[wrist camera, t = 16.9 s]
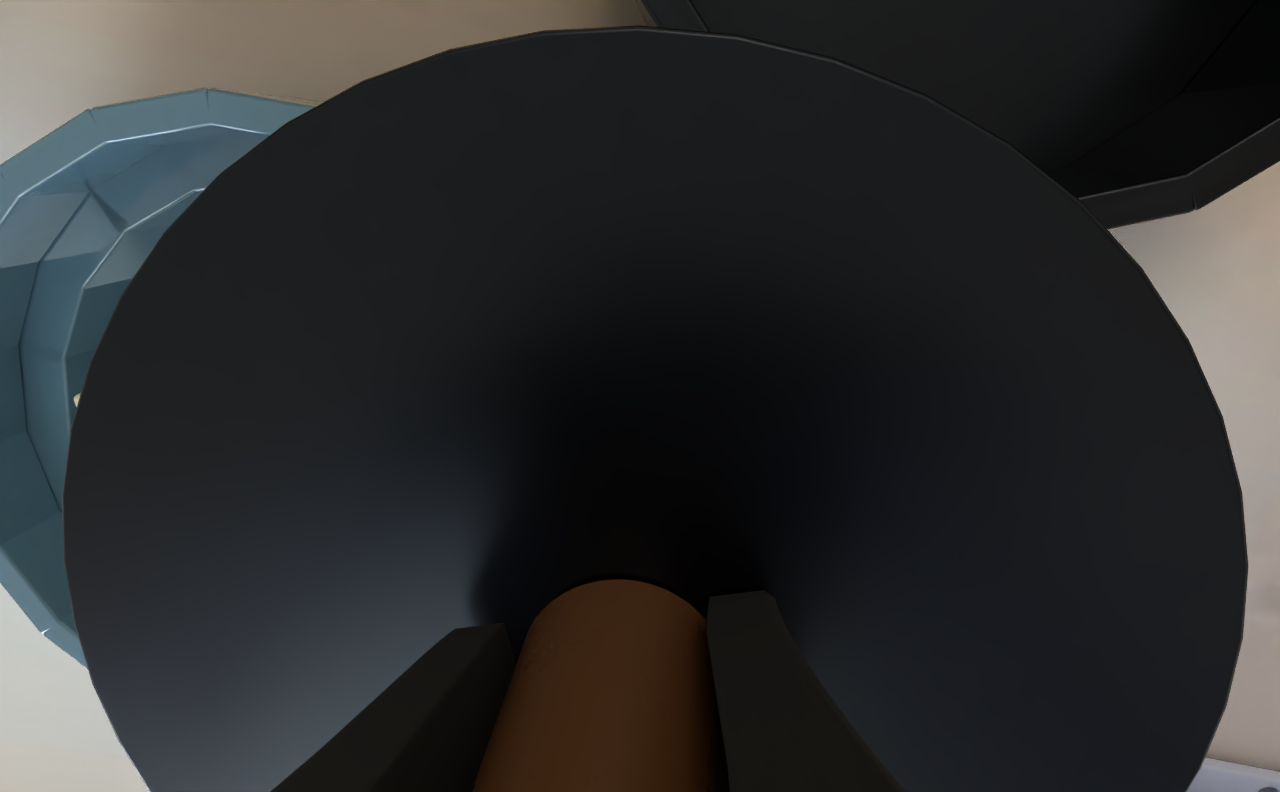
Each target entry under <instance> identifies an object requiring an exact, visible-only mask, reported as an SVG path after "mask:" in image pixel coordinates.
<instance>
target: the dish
mask: <svg viewBox="0 0 1280 792" xmlns="http://www.w3.org/2000/svg"><path fill="white" fill-rule="evenodd" d="M319 104H321V102H316V101H310V100H304V99H296V98H288V97H280V96H272V95H264V94H256V93H248V92H240V91H233V90H225V89H217V88H211V89H209V88H201V89H195V90H189V91H184V92H178V93H172V94H167V95H161V96H155V97H149V98H144V99H138V100H132V101H127V102H121V103H115V104H110V105H104V106H98V107H94V108H92V109H87V110H85V111H84V112H82V113H81V114H79V115H78V116H76V117H74V118H73V119H71V120H70V121H68V122H67V123H65V124H63V125H62V126H60V127H59V128H57V129H56V130H54V131H52V132H51V133H49V134H48V135H46V136H45V137H43V138H41V139H40V140H38V141H37V142H35V143H34V144H32V145H30V146H29V147H27V148H26V149H24V150H23V151H21V152H19V153H18V154H16V155H15V156H13V157H12V158H10V159H9V160H7V161H5V162H4V163H2V164H1V165H0V583H1V584H2V586H3V587H4V588H5V589H6V591H7V592H8V593H9V594H10V596H11V597H12V598H13V599H14V601H15V602H16V603H17V604H18V606H19V607H20V608H21V609H22V610H23V612H24V613H25V614H26V615H27V617H28V618H29V619H30V620H31V622H32V623H33V624H34V625H35V627H36V628H37V629H38V630H39V631H40V632H41V633H44V636H45V637H46V638H48V639H49V640H50V641H52V642H53V643H54V644H55V645H57V646H58V647H59V648H61V649H62V650H63V651H65V652H66V653H67V654H68V655H70V656H71V657H72V658H74V659H75V660H76V661H78V662H79V663H80V664H81V665H83V666H84V667H85V668H87V669H88V667H87V664H86V661H85V658H84V654H83V651H82V648H81V645H80V641H79V638H78V635H77V632H76V628H75V625H74V620H73V614H72V608H71V602H70V596H69V590H68V584H67V578H66V572H65V566H64V560H63V515H62V491H63V484H64V476H65V468H66V460H67V452H68V444H69V437H70V429H71V425H72V422H73V418H74V415H75V411H76V408H77V407H76V405H75V402H74V397H75V396H76V395H77V394H79V393H81V390H82V387H83V383H84V380H85V377H86V373H87V370H88V366H89V363H90V360H91V358H92V356H93V354H94V352H95V349H96V347H97V345H98V343H99V341H100V339H101V337H102V335H103V332H104V330H105V328H106V326H107V324H108V322H109V320H110V318H111V315H112V313H113V311H114V309H115V307H116V305H117V303H118V301H119V298H120V296H121V295H122V293H123V292H124V290H125V289H126V287H127V286H128V284H129V283H130V281H131V280H132V278H133V277H134V276H135V274H136V273H137V271H138V270H139V268H140V267H141V265H142V264H143V262H144V261H145V259H146V258H147V257H148V255H149V254H150V252H151V251H152V249H153V248H154V246H155V245H156V243H157V242H158V240H159V239H160V238H161V236H162V235H163V233H164V232H165V231H166V230H167V229H168V228H169V227H170V225H171V224H172V223H173V222H174V221H175V220H176V219H177V218H178V217H179V216H180V215H181V214H182V213H183V212H184V211H185V210H186V209H187V208H188V206H189V205H190V204H191V203H192V202H193V201H194V200H195V199H196V198H197V197H198V196H199V195H200V194H201V193H202V192H203V191H204V190H205V189H206V188H207V186H208V185H209V184H210V183H211V182H212V181H213V180H214V179H215V178H216V177H217V176H218V175H219V174H220V173H221V172H222V171H224V170H225V169H226V168H228V167H229V166H230V165H232V164H233V163H234V162H235V161H237V160H238V159H239V158H241V157H242V156H243V155H245V154H246V153H247V152H248V151H250V150H251V149H252V148H254V147H255V146H256V145H258V144H259V143H260V142H262V141H263V140H264V139H265V138H267V137H268V136H269V135H271V134H272V133H273V132H275V131H276V130H277V129H278V128H280V127H281V126H282V125H284V124H285V123H286V122H288V121H290V120H292V119H294V118H296V117H297V116H299V115H301V114H303V113H305V112H307V111H308V110H310V109H312V108H314V107H316V106H318V105H319Z"/></svg>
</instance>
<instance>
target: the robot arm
mask: <svg viewBox="0 0 1280 792" xmlns="http://www.w3.org/2000/svg"><path fill="white" fill-rule="evenodd" d="M706 632H707V639H708V645H709V652H710V658H711V665H712V671H713V677H714V684H715V690H716V696H717V703H718V709H719V715H720V722H721V728H722V734H723V741H724V747H725V754H726V760H727V766H728V776H729V787H730V792H906V791H905V789H904V788H903V787H902V786H901V785H900V784H899V783H898V781H897V780H896V779H895V778H894V777H893V775H892V774H891V773H890V772H889V771H888V769H887V768H886V767H885V766H884V765H883V763H882V762H881V761H880V760H879V759H878V757H877V756H876V755H875V754H874V753H873V751H872V750H871V749H870V748H869V747H868V745H867V744H866V743H865V742H864V740H863V739H862V738H861V736H860V735H859V734H858V733H857V731H856V730H855V729H854V727H853V726H852V725H851V724H850V722H849V721H848V720H847V718H846V717H845V715H844V714H843V713H842V711H841V710H840V709H839V707H838V706H837V704H836V703H835V702H834V700H833V699H832V697H831V696H830V695H829V693H828V692H827V690H826V689H825V688H824V686H823V685H822V683H821V682H820V681H819V679H818V678H817V676H816V675H815V673H814V672H813V670H812V669H811V667H810V666H809V664H808V663H807V661H806V659H805V658H804V656H803V654H802V653H801V651H800V649H799V648H798V646H797V645H796V643H795V641H794V640H793V638H792V636H791V634H790V632H789V630H788V629H787V627H786V625H785V623H784V621H783V619H782V616H781V614H780V612H779V609H778V607H777V604H776V600H775V598H774V597H773V596H771V595H770V594H768V593H767V592H766V591H764V590H761V591H753V592H745V593H737V594H729V595H721V596H713V597H709V605H708V613H707V628H706ZM515 666H516V663H515V659H514V655H513V652H512V648H511V645H510V641H509V638H508V634H507V631H506V627H505V624H504V623H496V624H488V625H480V626H472V627H464V628H456V629H454V630H453V631H451V632H450V633H449V634H447V635H446V636H445V637H444V638H442V639H441V640H440V641H439V642H437V643H436V644H435V645H434V646H433V647H432V648H431V649H429V650H428V651H427V652H426V653H425V654H424V655H423V656H421V657H420V658H419V659H418V660H417V661H416V662H415V663H414V664H413V665H411V666H410V667H409V668H408V669H407V670H406V671H405V672H404V673H403V674H402V675H401V676H399V677H398V678H397V679H396V680H395V681H394V682H393V683H392V684H391V685H390V686H389V687H388V688H386V689H385V690H384V691H383V692H382V693H381V694H380V695H379V696H378V697H377V698H376V699H374V700H373V701H372V702H371V703H370V704H369V705H368V706H367V707H366V708H365V709H363V710H362V711H361V712H360V713H359V714H358V715H357V716H356V717H355V718H354V719H352V720H351V721H350V722H349V723H348V724H347V725H346V726H345V727H344V728H343V729H342V730H340V731H339V732H338V733H337V734H336V735H335V736H334V737H333V738H332V739H331V740H329V741H328V742H327V743H326V744H325V745H324V746H323V747H322V748H321V749H319V750H318V751H317V752H316V753H315V754H314V755H313V756H312V757H310V758H309V759H308V760H307V761H306V762H305V763H303V764H302V765H301V766H300V767H299V768H297V769H296V770H295V771H294V772H293V773H292V774H290V775H289V776H288V777H287V778H286V779H285V780H283V781H282V782H281V783H280V784H279V785H277V786H276V787H275V788H274V789H273V790H272V791H270V792H471V791H472V788H473V785H474V782H475V779H476V776H477V774H478V771H479V768H480V765H481V762H482V760H483V757H484V754H485V751H486V748H487V745H488V743H489V740H490V737H491V734H492V731H493V728H494V726H495V723H496V720H497V717H498V714H499V712H500V709H501V706H502V703H503V700H504V697H505V695H506V692H507V689H508V686H509V683H510V680H511V678H512V675H513V672H514V669H515ZM1263 788H1264V789H1263ZM1261 789H1262V790H1261ZM1187 792H1280V772H1279V771H1273V770H1268V769H1263V768H1258V767H1253V766H1247V765H1242V764H1237V763H1232V762H1226V761H1221V760H1216V759H1211V758H1205V759H1204V761H1203V764H1202V766H1201V769H1200V770H1199V772H1198V774H1197V775H1196V777H1195V779H1194V780H1193V782H1192V784H1191V785H1190V787H1189V789H1188V790H1187Z"/></svg>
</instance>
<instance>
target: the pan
mask: <svg viewBox="0 0 1280 792" xmlns="http://www.w3.org/2000/svg"><path fill="white" fill-rule="evenodd" d="M636 1H637V4H638V6H639V8H640V11H641V13H642V15H643V18H644V20H645V22H646V24H647V26H651V27H662V28H672V29H683V30H694V31H705V32H716V33H727V34H737V35H742V36H746V37H751V38H755V39H759V40H763V41H767V42H771V43H775V44H780V45H784V46H788V47H792V48H796V49H800V50H805V51H809V52H813V53H817V54H821V55H825V56H829V57H834V58H837V59H839V60H842V61H844V62H847V63H849V64H852V65H854V66H857V67H859V68H862V69H864V70H867V71H869V72H872V73H874V74H876V75H879V76H881V77H884V78H886V79H889V80H891V81H894V82H896V83H899V84H901V85H904V86H906V87H909V88H911V89H914V90H916V91H919V92H921V93H924V94H926V95H928V96H930V97H931V98H933V99H935V100H937V101H938V102H940V103H942V104H943V105H945V106H947V107H949V108H950V109H952V110H954V111H955V112H957V113H959V114H960V115H962V116H964V117H966V118H967V119H969V120H971V121H972V122H974V123H976V124H978V125H979V126H981V127H983V128H984V129H986V130H988V131H990V132H991V133H993V134H995V135H996V136H998V137H1000V138H1002V139H1003V140H1005V141H1007V142H1008V143H1010V144H1011V145H1012V146H1014V147H1015V148H1016V149H1017V150H1018V151H1020V152H1021V153H1022V154H1023V155H1025V156H1026V157H1027V158H1028V159H1030V160H1031V161H1032V162H1033V163H1035V164H1036V165H1037V166H1038V167H1040V168H1041V169H1042V170H1043V171H1044V172H1046V173H1047V174H1048V175H1049V176H1051V177H1052V178H1053V179H1054V180H1056V181H1057V182H1058V183H1059V184H1061V185H1062V186H1063V187H1064V188H1066V189H1067V190H1068V191H1069V192H1070V193H1072V194H1073V195H1074V196H1075V197H1077V198H1078V199H1079V200H1080V201H1082V202H1083V204H1084V205H1085V206H1086V207H1087V208H1088V209H1089V210H1090V211H1091V212H1092V214H1093V215H1094V216H1095V217H1096V218H1097V219H1098V220H1099V221H1100V222H1101V223H1102V225H1103V226H1104V227H1105V228H1106V229H1112V228H1117V227H1122V226H1127V225H1131V224H1136V223H1141V222H1146V221H1151V220H1156V219H1160V218H1165V217H1170V216H1175V215H1180V214H1185V213H1189V212H1191V211H1193V210H1198V209H1200V208H1202V207H1203V206H1205V205H1207V204H1208V203H1210V202H1212V201H1214V200H1215V199H1217V198H1219V197H1220V196H1222V195H1224V194H1225V193H1227V192H1229V191H1230V190H1232V189H1234V188H1235V187H1237V186H1239V185H1240V184H1242V183H1244V182H1245V181H1247V180H1249V179H1250V178H1252V177H1254V176H1255V175H1257V174H1259V173H1260V172H1262V171H1264V170H1265V169H1267V168H1269V167H1270V166H1272V165H1274V164H1275V163H1277V162H1279V161H1280V0H636Z"/></svg>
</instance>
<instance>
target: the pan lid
mask: <svg viewBox="0 0 1280 792" xmlns="http://www.w3.org/2000/svg"><path fill="white" fill-rule="evenodd" d="M62 515H63V560H64V566H65V572H66V578H67V584H68V590H69V596H70V602H71V608H72V614H73V620H74V625H75V628H76V632H77V635H78V638H79V641H80V645H81V648H82V651H83V654H84V658H85V661H86V664H87V667H88V670H89V674H90V677H91V680H92V683H93V686H94V688H95V690H96V692H97V695H98V697H99V699H100V701H101V703H102V705H103V708H104V710H105V712H106V714H107V716H108V719H109V721H110V723H111V725H112V727H113V730H114V732H115V734H116V736H117V738H118V741H119V742H120V744H121V745H122V747H123V749H124V750H125V752H126V754H127V755H128V757H129V759H130V760H131V762H132V763H133V765H134V767H135V768H136V770H137V772H138V773H139V775H140V777H141V778H142V780H143V781H144V783H145V785H146V786H147V788H148V790H149V791H150V792H270V791H272V790H273V789H274V788H275V787H276V786H277V785H279V784H280V783H281V782H282V781H283V780H285V779H286V778H287V777H288V776H289V775H290V774H292V773H293V772H294V771H295V770H296V769H297V768H299V767H300V766H301V765H302V764H303V763H305V762H306V761H307V760H308V759H309V758H310V757H312V756H313V755H314V754H315V753H316V752H317V751H318V750H319V749H321V748H322V747H323V746H324V745H325V744H326V743H327V742H328V741H329V740H331V739H332V738H333V737H334V736H335V735H336V734H337V733H338V732H339V731H340V730H342V729H343V728H344V727H345V726H346V725H347V724H348V723H349V722H350V721H351V720H352V719H354V718H355V717H356V716H357V715H358V714H359V713H360V712H361V711H362V710H363V709H365V708H366V707H367V706H368V705H369V704H370V703H371V702H372V701H373V700H374V699H376V698H377V697H378V696H379V695H380V694H381V693H382V692H383V691H384V690H385V689H386V688H388V687H389V686H390V685H391V684H392V683H393V682H394V681H395V680H396V679H397V678H398V677H399V676H401V675H402V674H403V673H404V672H405V671H406V670H407V669H408V668H409V667H410V666H411V665H413V664H414V663H415V662H416V661H417V660H418V659H419V658H420V657H421V656H423V655H424V654H425V653H426V652H427V651H428V650H429V649H431V648H432V647H433V646H434V645H435V644H436V643H437V642H439V641H440V640H441V639H442V638H444V637H445V636H446V635H447V634H449V633H450V632H451V631H453V630H454V629H456V628H464V627H472V626H480V625H488V624H496V623H504V624H505V627H506V631H507V634H508V638H509V641H510V645H511V648H512V652H513V655H514V659H515V663H516V666H515V669H514V672H513V675H512V678H511V680H510V683H509V686H508V689H507V692H506V695H505V697H504V700H503V703H502V706H501V709H500V712H499V714H498V717H497V720H496V723H495V726H494V728H493V731H492V734H491V737H490V740H489V743H488V745H487V748H486V751H485V754H484V757H483V760H482V762H481V765H480V768H479V771H478V774H477V776H476V779H475V782H474V785H473V788H472V791H471V792H730V787H729V776H728V766H727V760H726V754H725V747H724V741H723V734H722V728H721V722H720V715H719V709H718V703H717V696H716V690H715V684H714V677H713V671H712V665H711V658H710V652H709V645H708V639H707V632H706V628H707V613H708V605H709V597H713V596H721V595H729V594H737V593H745V592H753V591H761V590H764V591H766V592H767V593H768V594H770V595H771V596H773V597H774V598H775V600H776V604H777V607H778V609H779V612H780V614H781V616H782V619H783V621H784V623H785V625H786V627H787V629H788V630H789V632H790V634H791V636H792V638H793V640H794V641H795V643H796V645H797V646H798V648H799V649H800V651H801V653H802V654H803V656H804V658H805V659H806V661H807V663H808V664H809V666H810V667H811V669H812V670H813V672H814V673H815V675H816V676H817V678H818V679H819V681H820V682H821V683H822V685H823V686H824V688H825V689H826V690H827V692H828V693H829V695H830V696H831V697H832V699H833V700H834V702H835V703H836V704H837V706H838V707H839V709H840V710H841V711H842V713H843V714H844V715H845V717H846V718H847V720H848V721H849V722H850V724H851V725H852V726H853V727H854V729H855V730H856V731H857V733H858V734H859V735H860V736H861V738H862V739H863V740H864V742H865V743H866V744H867V745H868V747H869V748H870V749H871V750H872V751H873V753H874V754H875V755H876V756H877V757H878V759H879V760H880V761H881V762H882V763H883V765H884V766H885V767H886V768H887V769H888V771H889V772H890V773H891V774H892V775H893V777H894V778H895V779H896V780H897V781H898V783H899V784H900V785H901V786H902V787H903V788H904V789H905V791H906V792H1187V790H1188V789H1189V787H1190V785H1191V784H1192V782H1193V780H1194V779H1195V777H1196V775H1197V774H1198V772H1199V770H1200V769H1201V766H1202V764H1203V761H1204V759H1205V756H1206V754H1207V752H1208V749H1209V747H1210V744H1211V742H1212V740H1213V737H1214V735H1215V732H1216V730H1217V727H1218V725H1219V723H1220V720H1221V718H1222V715H1223V713H1224V710H1225V708H1226V705H1227V701H1228V697H1229V693H1230V689H1231V685H1232V681H1233V676H1234V672H1235V668H1236V664H1237V660H1238V656H1239V652H1240V647H1241V643H1242V639H1243V628H1244V616H1245V603H1246V590H1247V577H1248V557H1247V545H1246V534H1245V522H1244V511H1243V499H1242V491H1241V487H1240V483H1239V479H1238V475H1237V471H1236V467H1235V463H1234V459H1233V455H1232V452H1231V448H1230V444H1229V440H1228V436H1227V432H1226V428H1225V424H1224V420H1223V417H1222V414H1221V412H1220V410H1219V407H1218V405H1217V403H1216V401H1215V398H1214V396H1213V394H1212V392H1211V389H1210V387H1209V385H1208V382H1207V380H1206V378H1205V376H1204V373H1203V371H1202V369H1201V367H1200V364H1199V362H1198V360H1197V358H1196V355H1195V353H1194V351H1193V348H1192V346H1191V344H1190V342H1189V340H1188V338H1187V336H1186V335H1185V333H1184V332H1183V330H1182V329H1181V327H1180V326H1179V324H1178V323H1177V321H1176V320H1175V318H1174V316H1173V315H1172V313H1171V312H1170V310H1169V309H1168V307H1167V306H1166V304H1165V303H1164V301H1163V300H1162V298H1161V297H1160V295H1159V293H1158V292H1157V290H1156V289H1155V287H1154V286H1153V284H1152V283H1151V281H1150V280H1149V278H1148V277H1147V275H1146V274H1145V272H1144V270H1143V269H1142V268H1141V266H1140V265H1139V264H1138V263H1137V262H1136V261H1135V260H1134V259H1133V258H1132V257H1131V255H1130V254H1129V253H1128V252H1127V251H1126V250H1125V249H1124V248H1123V247H1122V246H1121V244H1120V243H1119V242H1118V241H1117V240H1116V239H1115V238H1114V237H1113V236H1112V234H1111V233H1110V232H1109V231H1108V230H1107V229H1106V228H1105V227H1104V226H1103V225H1102V223H1101V222H1100V221H1099V220H1098V219H1097V218H1096V217H1095V216H1094V215H1093V214H1092V212H1091V211H1090V210H1089V209H1088V208H1087V207H1086V206H1085V205H1084V204H1083V202H1082V201H1080V200H1079V199H1078V198H1077V197H1075V196H1074V195H1073V194H1072V193H1070V192H1069V191H1068V190H1067V189H1066V188H1064V187H1063V186H1062V185H1061V184H1059V183H1058V182H1057V181H1056V180H1054V179H1053V178H1052V177H1051V176H1049V175H1048V174H1047V173H1046V172H1044V171H1043V170H1042V169H1041V168H1040V167H1038V166H1037V165H1036V164H1035V163H1033V162H1032V161H1031V160H1030V159H1028V158H1027V157H1026V156H1025V155H1023V154H1022V153H1021V152H1020V151H1018V150H1017V149H1016V148H1015V147H1014V146H1012V145H1011V144H1010V143H1008V142H1007V141H1005V140H1003V139H1002V138H1000V137H998V136H996V135H995V134H993V133H991V132H990V131H988V130H986V129H984V128H983V127H981V126H979V125H978V124H976V123H974V122H972V121H971V120H969V119H967V118H966V117H964V116H962V115H960V114H959V113H957V112H955V111H954V110H952V109H950V108H949V107H947V106H945V105H943V104H942V103H940V102H938V101H937V100H935V99H933V98H931V97H930V96H928V95H926V94H924V93H921V92H919V91H916V90H914V89H911V88H909V87H906V86H904V85H901V84H899V83H896V82H894V81H891V80H889V79H886V78H884V77H881V76H879V75H876V74H874V73H872V72H869V71H867V70H864V69H862V68H859V67H857V66H854V65H852V64H849V63H847V62H844V61H842V60H839V59H837V58H834V57H829V56H825V55H821V54H817V53H813V52H809V51H805V50H800V49H796V48H792V47H788V46H784V45H780V44H775V43H771V42H767V41H763V40H759V39H755V38H751V37H746V36H742V35H737V34H727V33H716V32H705V31H694V30H683V29H672V28H662V27H651V26H621V27H602V28H583V29H564V30H545V31H538V32H533V33H528V34H523V35H518V36H513V37H508V38H503V39H499V40H494V41H489V42H484V43H479V44H474V45H469V46H464V47H459V48H454V49H449V50H446V51H444V52H441V53H438V54H435V55H433V56H430V57H427V58H424V59H422V60H419V61H416V62H413V63H410V64H408V65H405V66H402V67H399V68H397V69H394V70H391V71H388V72H386V73H383V74H380V75H377V76H375V77H372V78H369V79H366V80H363V81H362V82H360V83H358V84H356V85H354V86H352V87H351V88H349V89H347V90H345V91H343V92H341V93H340V94H338V95H336V96H334V97H332V98H330V99H329V100H327V101H325V102H323V103H321V104H319V105H318V106H316V107H314V108H312V109H310V110H308V111H307V112H305V113H303V114H301V115H299V116H297V117H296V118H294V119H292V120H290V121H288V122H286V123H285V124H284V125H282V126H281V127H280V128H278V129H277V130H276V131H275V132H273V133H272V134H271V135H269V136H268V137H267V138H265V139H264V140H263V141H262V142H260V143H259V144H258V145H256V146H255V147H254V148H252V149H251V150H250V151H248V152H247V153H246V154H245V155H243V156H242V157H241V158H239V159H238V160H237V161H235V162H234V163H233V164H232V165H230V166H229V167H228V168H226V169H225V170H224V171H222V172H221V173H220V174H219V175H218V176H217V177H216V178H215V179H214V180H213V181H212V182H211V183H210V184H209V185H208V186H207V188H206V189H205V190H204V191H203V192H202V193H201V194H200V195H199V196H198V197H197V198H196V199H195V200H194V201H193V202H192V203H191V204H190V205H189V206H188V208H187V209H186V210H185V211H184V212H183V213H182V214H181V215H180V216H179V217H178V218H177V219H176V220H175V221H174V222H173V223H172V224H171V225H170V227H169V228H168V229H167V230H166V231H165V232H164V233H163V235H162V236H161V238H160V239H159V240H158V242H157V243H156V245H155V246H154V248H153V249H152V251H151V252H150V254H149V255H148V257H147V258H146V259H145V261H144V262H143V264H142V265H141V267H140V268H139V270H138V271H137V273H136V274H135V276H134V277H133V278H132V280H131V281H130V283H129V284H128V286H127V287H126V289H125V290H124V292H123V293H122V295H121V296H120V298H119V301H118V303H117V305H116V307H115V309H114V311H113V313H112V315H111V318H110V320H109V322H108V324H107V326H106V328H105V330H104V332H103V335H102V337H101V339H100V341H99V343H98V345H97V347H96V349H95V352H94V354H93V356H92V358H91V360H90V363H89V366H88V370H87V373H86V377H85V380H84V383H83V387H82V390H81V394H80V397H79V401H78V404H77V408H76V411H75V415H74V418H73V422H72V425H71V429H70V437H69V444H68V452H67V460H66V468H65V476H64V484H63V491H62Z"/></svg>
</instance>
